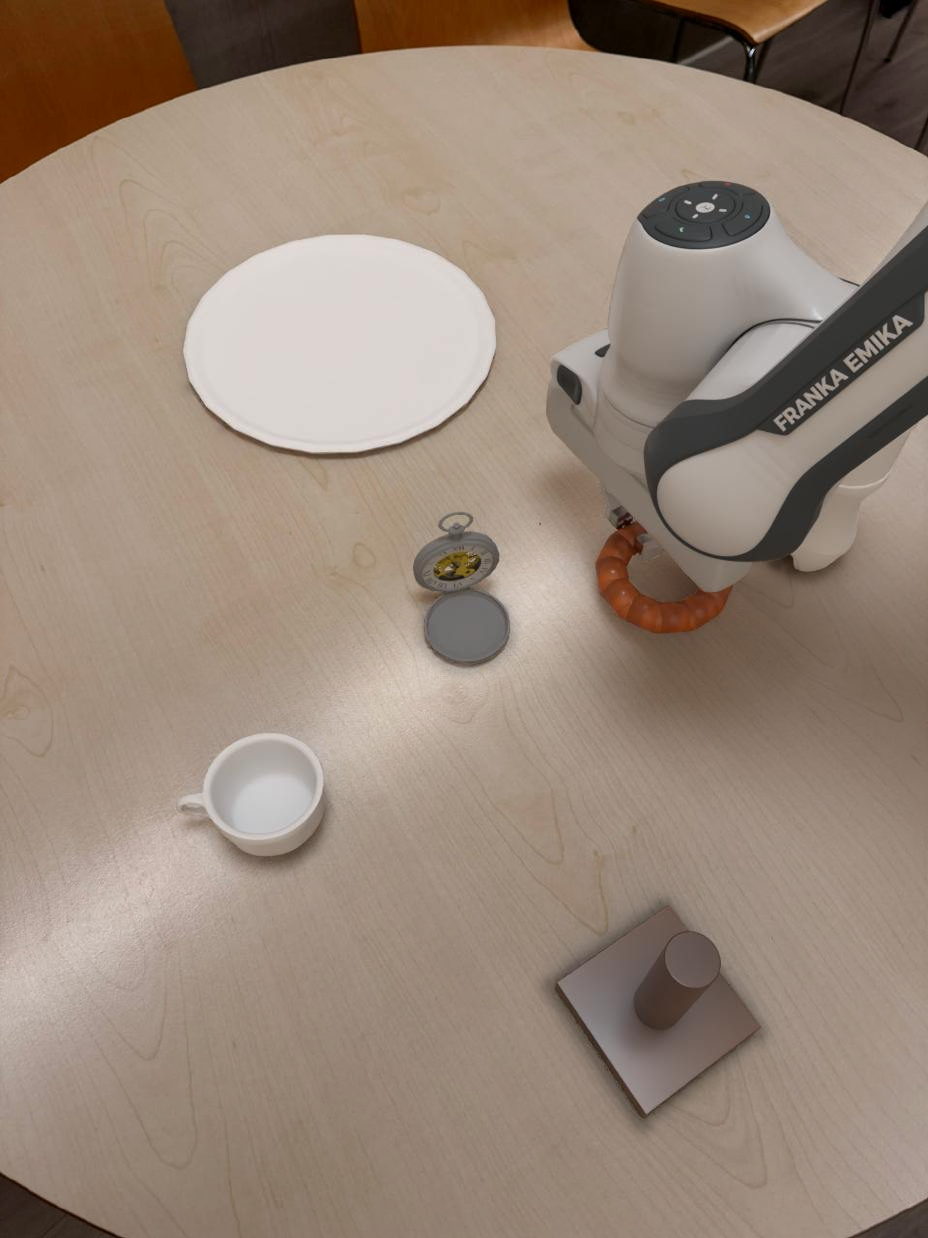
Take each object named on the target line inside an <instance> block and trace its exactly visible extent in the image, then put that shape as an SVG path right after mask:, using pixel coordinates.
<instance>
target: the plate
mask: <svg viewBox="0 0 928 1238" xmlns="http://www.w3.org/2000/svg"><path fill="white" fill-rule="evenodd" d="M496 335H497V334H496V318H495V316H494V314H493V312H492V309H491V307H490V305H489V303H488V301H487V299H486V296H485V294H484V292H483V291H482V289H481V288H480V287H479V286H478V285H477V284H476V283H475V282H474V281H473V280H472V279H471V278H470V277H469V275H467V273H466V271H465V272H464V270H463V269H461V268H460V267H458V266H457V265H455V264H453V263H452V262H450V261H449V260H448V259H446V258H444V257H443V256H441V255H440V254H439V253H436V252H435V251H433V250H429V249H427V248H424V247H422V246H418V245H415V244H412V243H410V242H406V241H405V240H401V239H398V238H397V239H396V238H391V237H384V236H379V235H378V236H377V235H371V234H365V233H362V234H361V233H360V234H358V233H355V234H353V233H352V234H351V233H349V234H323V235H319V236H312V237H306V238H302V239H301V238H300V239H297V240H291V241H288V242H285V243H283V244H279V245H277V246H275V247H272V248H269V249H266V250H264V251H261V252H259V253H256V254H254V255H253V256H251V257H250V258H248V259H246V260H244V261H243V262H241V263H239V264H238V265H236V266H235V267H232V268H231V269H230V270H227V272H225V273H224V274H223V275H222V276H221V277H220V278H219V279H218V280H217V281H216V282H215V283H214V284H213V285H211V287H209V289H208V290H207V291H206V292H205V293H204V294H203V295H202V296H201V298H200V300H199V301H198V303H197V305H196V306H195V309H194V310H193V313H192V314H191V316H190V318H189V320H188V322H187V325H186V330H185V336H184V343H183V349H182V355H183V358H184V362H185V363H184V364H185V367H186V373H187V377H188V381H189V383H190V385H191V386H192V388H193V389H194V391H195V392H196V393H197V396H198V397H199V398H200V399H201V401H202V403H203V404H204V406H205V407H206V409H208V410H209V412H212V413H213V415H214V416H216V417H218V418H219V419H220V420H221V421H222V422H224V423H225V424H227V425H228V426H229V427H230V428H231V429H233V430H234V431H236V432H239V433H240V434H242V435H245V436H247V437H249V438H252V439H254V440H257V441H258V442H261V443H264V444H266V445H268V446H271V447H275V448H280V449H286V450H290V451H291V450H292V451H296V452H301V453H302V452H303V453H307V454H312V455H316V454H318V455H320V454H359V453H363V452H369V451H373V450H376V449H381V448H386V447H391V446H395V445H396V446H397V445H400V444H402V443H404V442H406V441H409V440H411V439H413V438H415V437H417V436H420V435H422V434H424V433H427V432H428V431H429V432H430V431H431V430H433V429H435V428H438V427H439V426H440V425H442V424H443V423H444V422H445V421H447V420H448V419H450V418H451V417H452V416H453V415H455V414H456V413H457V412H459V411H460V410H461V409H463V407H465V406H466V405H468V403H470V401H471V400H472V398H473V397H474V395H475V394H476V392H478V390H479V388H480V387H481V386H482V385H483V383H484V382H485V380H486V379H487V378H488V376H489V372H490V369H491V366H492V363H493V359H494V356H495V353H496V350H497V338H496V337H497V336H496Z"/></svg>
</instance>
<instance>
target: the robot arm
mask: <svg viewBox="0 0 928 1238" xmlns="http://www.w3.org/2000/svg"><path fill="white" fill-rule="evenodd" d="M611 291H612V292H611V295H610V296H611V297H610V303H609V308H608V314H607V326H606V327H605V328H603V329H601V330H598V331H596V332H594V333H590V334H589V335H587V336H585V337H584V336H583V337H582V338H580V339H578V340H577V341H574V342H573V343H571V344H568V345H567V346H566V347H564V348H562V349H560V350H558V351H557V352H556V353H553V354H552V355H551V357H550V362H549V372H550V375H551V376H550V378H549V380H548V385H547V393H546V402H545V403H546V404H545V414H546V418H547V421H548V424H549V427H550V429H551V431H552V433H553V434H554V435H555V436H556V437H557V438H558V439H559V440H560V441H561V442H562V443H563V444H564V445H565V446H566V448H568V449H569V450H570V451H571V453H572V454H573V455H574V456H575V457H576V458H577V459H578V460H579V461H580V462H581V463H582V464H583V465H584V467H585V468H586V469H587V470H588V471H590V473H591V474H593V476H594V477H595V478H596V479H597V480H598V482H599V483H598V484H599V488H600V490H601V494H602V497H603V500H604V503H605V506H606V509H605V514H604V518H605V519H606V521H607V522H609V523H610V525H611V526H612V527H613V528H614V529H615V530H616V531H617V530H619V529H621V528H622V527H624V526H626V525H628V524H630V523H631V522H633V521H634V520H636V521H637V522H638V523H639V524H640V525H641V526H642V527H643V528H644V529H645V530H646V531H647V533H646V534H641V535H639V536H637V537H636V540H635V546H634V549H635V550H636V551H637V553H638V554H637V555H639V556H640V557H641V559H643V561H644V562H649V561H651V560H653V559H655V558H657V557H658V556H660V555H661V554H662V552H663V550H664V552H665V553H666V554H667V555H668V556H669V557H670V558H671V559H672V560H673V561H674V562H675V563H676V564H677V566H679V568H680V569H681V570H682V571H683V572H684V573H685V574H686V576H688V577H689V579H691V580H692V582H694V584H695V585H696V586H697V588H698V587H699V588H700V589H701V590H703V591H704V592H719V591H721V590H723V589H725V588H727V587H729V586H731V585H732V584H733V585H734V584H735V583H737V582H739V581H741V579H743V578H744V577H746V575H748V573H749V572H750V570H751V568H752V564H753V563H756V562H767V561H774V560H778V559H779V560H781V559H783V558H785V557H788V556H791V555H790V554H792V553H793V552H794V551H796V550H797V549H798V548H799V546H800V545H801V544H802V542H803V541H804V539H805V538H806V536H807V535H808V533H809V532H810V530H811V528H812V527H813V525H814V524H815V522H816V521H817V519H818V517H819V515H820V512H821V510H822V508H823V507H824V506H825V504H826V503H827V501H828V500H829V499H830V497H831V496H832V494H833V493H834V492H835V490H836V489H837V487H838V486H839V485H840V483H841V482H842V480H843V479H844V478H845V476H846V475H847V474H848V473H850V472H851V471H852V470H854V469H855V468H856V467H858V466H859V465H860V464H862V463H863V462H865V461H866V460H867V459H869V458H870V457H871V456H873V455H874V454H875V453H877V452H878V451H880V450H881V449H882V448H884V447H885V446H886V445H888V444H889V443H890V442H892V441H893V440H894V439H896V438H897V437H899V436H900V435H901V434H903V433H904V432H905V431H907V430H908V429H909V428H911V427H912V426H914V425H915V424H916V423H918V422H919V423H920V422H921V421H922V420H923V419H925V418H926V417H927V416H928V199H927V200H926V201H925V203H924V205H923V206H922V207H921V208H920V211H918V213H917V214H916V216H915V217H914V218H913V220H912V222H911V223H910V224H909V226H908V227H907V229H906V230H905V231H904V232H903V234H902V235H901V237H900V238H899V239H898V241H896V243H895V244H894V245H893V247H892V248H891V249H890V251H889V252H888V253H887V254H886V256H885V257H884V258H883V259H882V261H881V262H880V263H879V264H878V265H877V266H876V268H875V269H874V270H873V271H872V272H871V273H870V274H869V275H868V276H867V278H865V280H863V282H862V283H861V284H860V283H856V282H853V281H850V280H848V279H845V278H841V277H839V276H836V275H835V274H834V273H833V272H831V271H830V270H829V269H827V268H826V267H824V266H823V265H822V264H820V263H819V262H818V261H816V260H815V258H812V257H811V256H810V255H809V254H808V253H807V252H806V251H804V250H803V248H801V247H800V246H799V245H798V243H797V242H795V240H794V239H793V238H792V237H791V235H790V234H789V233H788V231H787V229H786V228H785V226H784V224H783V222H782V220H781V218H780V216H779V214H778V212H777V209H776V208H775V205H774V204H773V203H772V202H771V200H769V198H767V197H766V196H765V195H764V194H762V193H761V192H759V191H757V190H756V189H754V188H752V187H749V186H747V185H744V184H741V183H736V182H732V181H727V180H726V181H725V180H701V181H696V182H691V183H687V184H684V185H679V186H676V187H674V188H671V189H669V190H668V191H666V192H664V193H662V194H660V196H657V197H656V198H655V199H654V200H652V201H651V202H650V203H648V204H647V205H646V206H645V207H644V208H643V209H642V210H641V211H640V212H639V213H638V214H637V216H636V217H635V219H634V220H633V222H632V224H631V226H630V228H629V230H628V233H627V236H626V238H625V240H624V244H623V247H622V250H621V254H620V257H619V259H618V264H617V268H616V272H615V278H614V281H613V286H612V290H611ZM919 423H918V424H919ZM780 558H781V559H780Z"/></svg>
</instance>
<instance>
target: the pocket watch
mask: <svg viewBox="0 0 928 1238" xmlns="http://www.w3.org/2000/svg"><path fill="white" fill-rule="evenodd" d="M454 516H466V517H468V522H467V523H465V525H463V524H460V523H459V522H453V524H452V526H450V527H449V528H446V527H444V526H443V523H444V522H445V520H447V519H448V518H451V517H454ZM473 522H474V516H473V515H472V514H471V513H469V512H466V511H454V512H450V513H447V514H446V515H444V516H443V517H441V519H439V520H438V523H437V527H438V528H439V530H441V531H442V532H446V533H448V534H443V535H442V536H440V537H437V538H435V539H433V540H431V541H430V542H428V543H427V544H425V545H424V546H423V547H422V548H421V549H420V550H419V551H418V552H417V554H416V556H415V558H414V560H413V566H412V570H413V576H414V579H415V582H417V584H418V585H419V586H420V587H421V588H424V589H427V590H428V591H431V592H438V593H443V594H441V595H440V596H439V597H437V598H436V599H435V600H434V601H432V603H431V604H430V605H429V607H428V609H427V610H426V613H425V617H424V621H423V629H424V637H425V639H426V640H427V643H428V645H429V646H430V647H431V649H432V650H433V651H434V653H435V654H437V655H439V656H440V657H442V658H443V659H445V660H447V661H450V662H452V663H456V664H462V665H473V664H479V663H482V662H486V661H487V660H489V659H491V658H493V657H495V656H496V655H497V654H498V653H499V652H500V651H501V650H502V649H503V648H504V647H505V645H506V643H507V641H508V639H509V636H510V633H511V620H510V616H509V613H508V611H507V609H506V607H505V605H504V604H503V603H502V602H501V600H499V598H496V596H495V595H493V594H490V593H489V592H486V591H484V590H481V589H475V588H471V587H472V586H475V585H478V584H479V583H481V582H482V581H484V580H485V579H486V578H488V577H489V576H490V575H491V574H492V573H493V572H494V571H495V570H496V568H497V567H498V564H499V562H500V551H499V549H498V547H497V544H496V543H495V542H494V541H493V539H492V538H491V537H490V536H488V535H487V534H484V533H482V532H477V531H471V530H468V531H467V530H466V529H467V528H469V527H471V525H472V523H473ZM465 530H466V531H465ZM448 568H449V569H450V570H446V569H448Z"/></svg>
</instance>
